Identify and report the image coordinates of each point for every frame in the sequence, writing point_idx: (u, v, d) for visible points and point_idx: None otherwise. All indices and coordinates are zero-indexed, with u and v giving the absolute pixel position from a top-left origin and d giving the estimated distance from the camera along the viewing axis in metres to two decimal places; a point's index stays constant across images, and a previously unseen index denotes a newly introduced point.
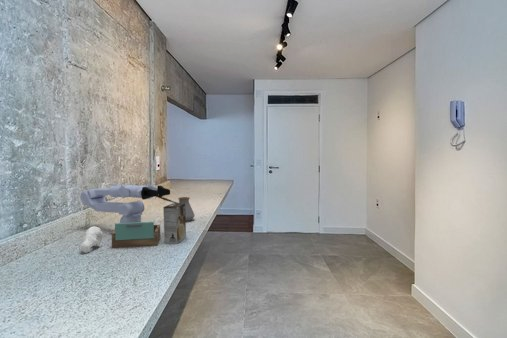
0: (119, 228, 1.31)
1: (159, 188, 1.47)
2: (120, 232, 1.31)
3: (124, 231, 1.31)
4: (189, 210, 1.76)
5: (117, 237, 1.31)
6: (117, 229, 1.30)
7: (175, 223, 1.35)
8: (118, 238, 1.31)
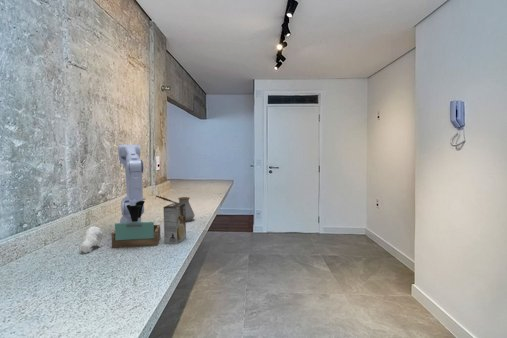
0: (119, 228, 1.31)
1: (141, 204, 1.40)
2: (120, 232, 1.31)
3: (124, 231, 1.31)
4: (189, 210, 1.76)
5: (117, 237, 1.31)
6: (117, 229, 1.30)
7: (175, 223, 1.35)
8: (118, 238, 1.31)
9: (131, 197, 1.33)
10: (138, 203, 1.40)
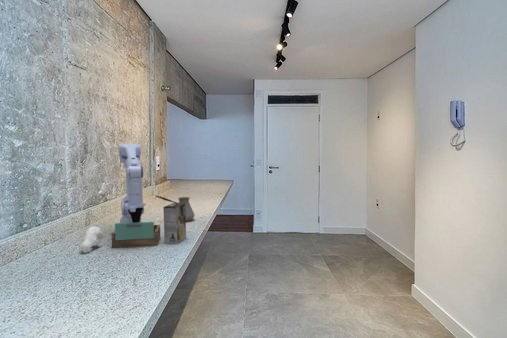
0: (119, 228, 1.31)
1: None
2: (120, 232, 1.31)
3: (124, 231, 1.31)
4: (189, 210, 1.76)
5: (117, 237, 1.31)
6: (117, 229, 1.30)
7: (175, 223, 1.35)
8: (118, 238, 1.31)
9: (131, 203, 1.33)
10: None
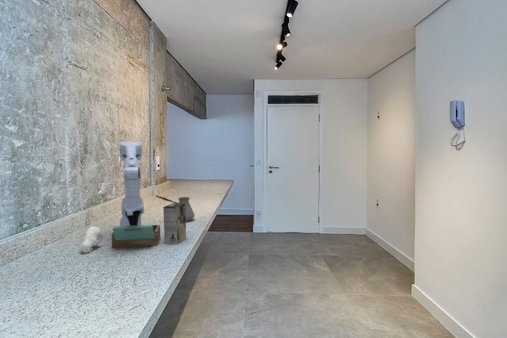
0: (118, 231, 1.28)
1: None
2: (119, 234, 1.29)
3: (123, 233, 1.29)
4: (189, 210, 1.76)
5: (117, 238, 1.30)
6: (116, 232, 1.28)
7: (175, 223, 1.35)
8: (118, 239, 1.30)
9: (128, 206, 1.27)
10: None
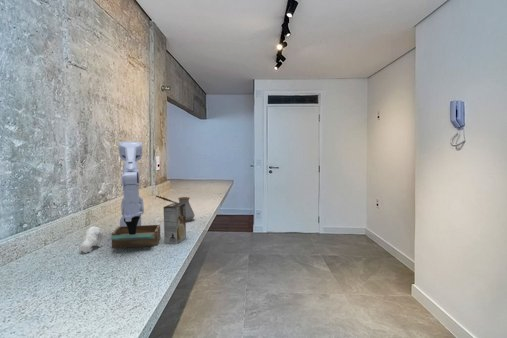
0: (117, 239, 1.26)
1: None
2: (118, 239, 1.28)
3: (122, 239, 1.28)
4: (189, 210, 1.76)
5: (116, 240, 1.30)
6: (115, 239, 1.26)
7: (175, 223, 1.35)
8: (118, 240, 1.30)
9: (127, 212, 1.24)
10: None
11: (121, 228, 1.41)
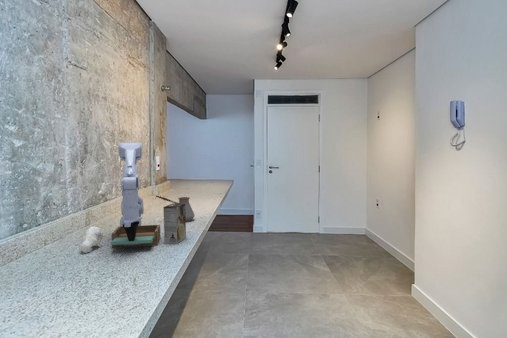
0: None
1: None
2: None
3: None
4: (189, 210, 1.76)
5: None
6: None
7: (175, 223, 1.35)
8: None
9: (126, 217, 1.22)
10: None
11: (121, 228, 1.41)
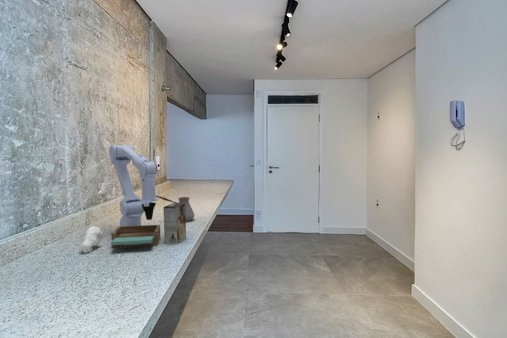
0: None
1: None
2: None
3: None
4: (189, 210, 1.76)
5: None
6: None
7: (175, 223, 1.35)
8: None
9: (144, 198, 1.37)
10: None
11: (121, 228, 1.41)
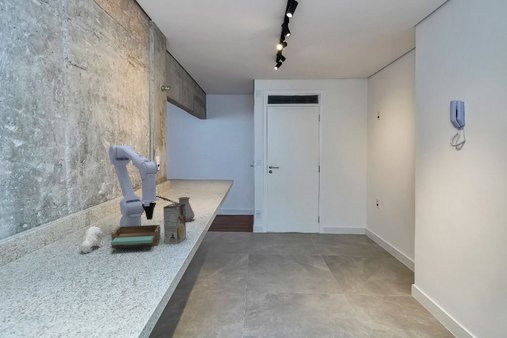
0: None
1: None
2: None
3: None
4: (189, 210, 1.76)
5: None
6: None
7: (175, 223, 1.35)
8: None
9: (145, 198, 1.38)
10: None
11: (121, 228, 1.41)
